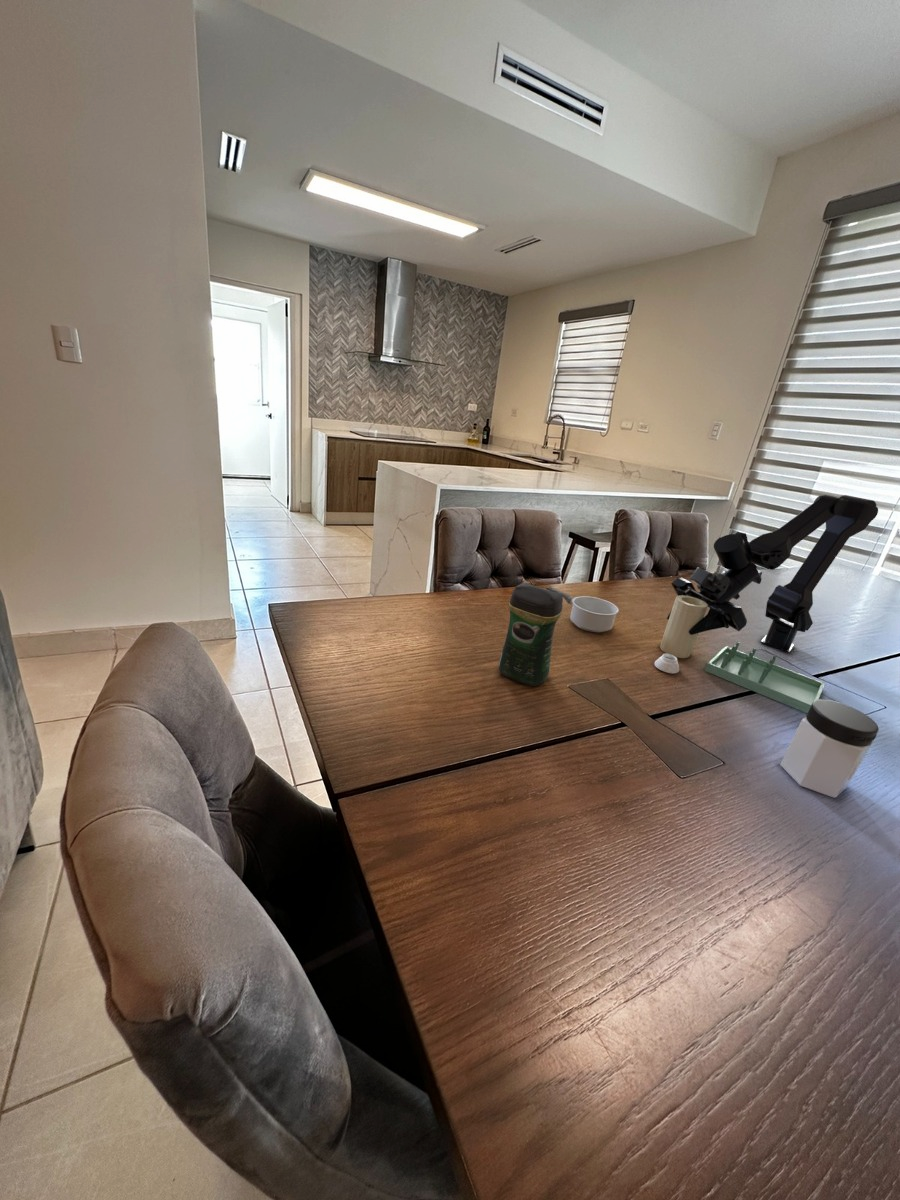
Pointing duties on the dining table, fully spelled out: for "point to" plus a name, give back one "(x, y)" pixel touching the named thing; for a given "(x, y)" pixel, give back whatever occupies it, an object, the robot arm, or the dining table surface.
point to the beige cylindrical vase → (682, 626)
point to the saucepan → (590, 612)
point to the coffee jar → (530, 634)
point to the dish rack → (766, 678)
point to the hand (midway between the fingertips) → (678, 626)
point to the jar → (829, 747)
